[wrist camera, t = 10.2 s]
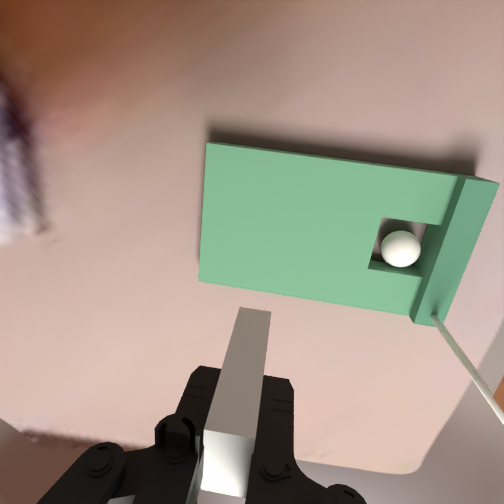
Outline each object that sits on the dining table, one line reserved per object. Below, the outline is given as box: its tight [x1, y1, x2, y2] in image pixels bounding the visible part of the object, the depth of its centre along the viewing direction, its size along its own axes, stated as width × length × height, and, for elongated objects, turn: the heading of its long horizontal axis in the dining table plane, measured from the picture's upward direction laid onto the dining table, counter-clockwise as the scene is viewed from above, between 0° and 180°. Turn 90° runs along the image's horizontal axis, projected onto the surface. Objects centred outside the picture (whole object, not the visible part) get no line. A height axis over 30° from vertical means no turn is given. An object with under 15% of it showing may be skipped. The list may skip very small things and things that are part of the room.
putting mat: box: [198, 141, 504, 424], centre depth 30 cm, size 16×28×18 cm, turn 83°
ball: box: [381, 231, 421, 267], centre depth 36 cm, size 4×4×4 cm
